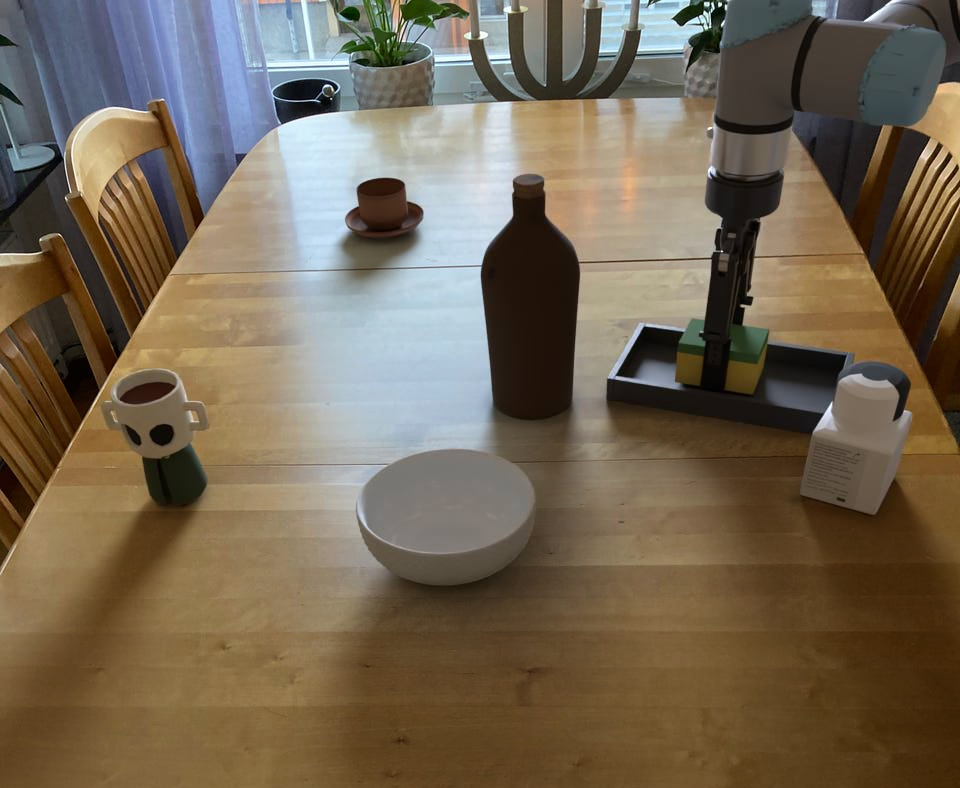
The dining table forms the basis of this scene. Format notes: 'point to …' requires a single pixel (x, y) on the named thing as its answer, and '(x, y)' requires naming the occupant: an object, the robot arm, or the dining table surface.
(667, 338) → the tray
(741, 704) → the dining table surface
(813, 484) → the container
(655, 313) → the dining table surface
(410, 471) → the cereal bowl
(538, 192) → the olive oil
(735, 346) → the sponge
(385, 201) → the cup and saucer
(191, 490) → the character mug
